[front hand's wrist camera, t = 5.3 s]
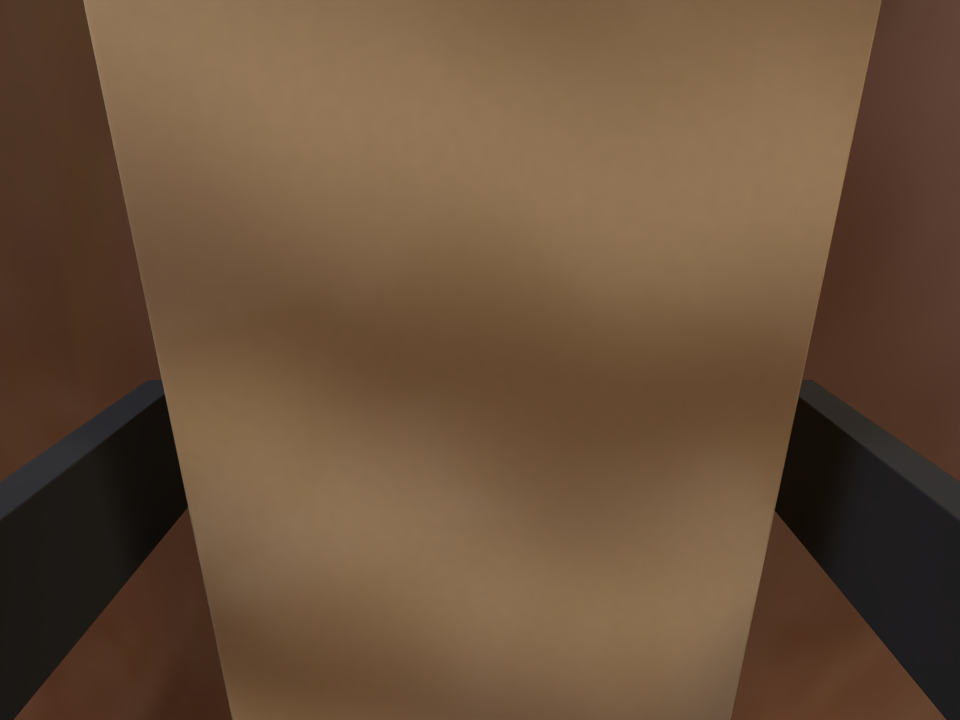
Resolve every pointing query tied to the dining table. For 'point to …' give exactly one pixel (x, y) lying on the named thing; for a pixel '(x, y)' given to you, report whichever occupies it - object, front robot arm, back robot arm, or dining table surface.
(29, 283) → the dining table surface
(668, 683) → the tan wooden block
